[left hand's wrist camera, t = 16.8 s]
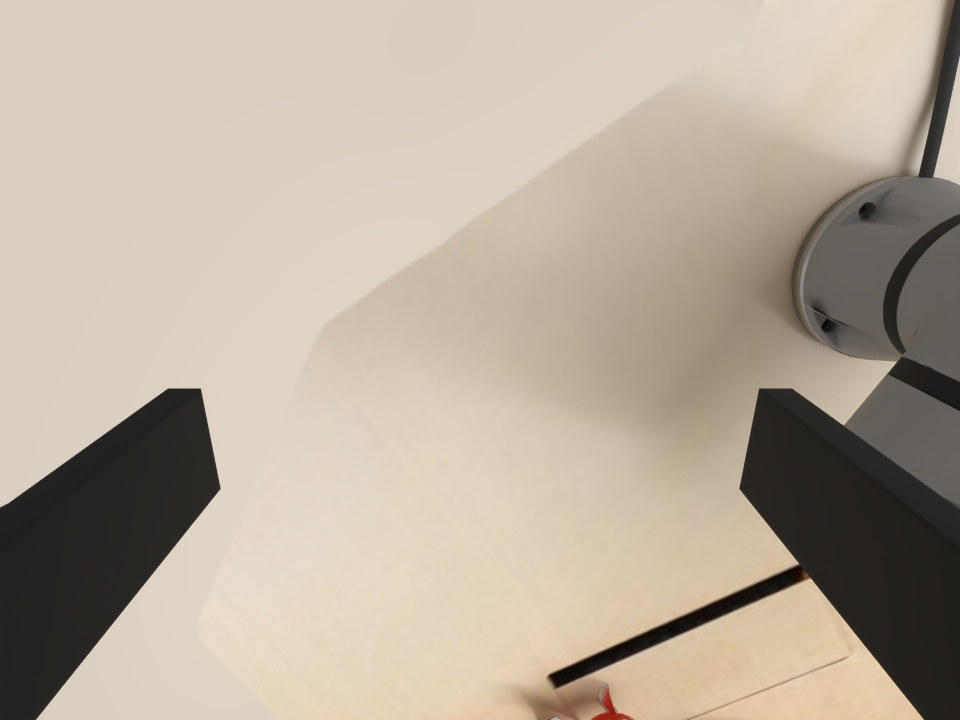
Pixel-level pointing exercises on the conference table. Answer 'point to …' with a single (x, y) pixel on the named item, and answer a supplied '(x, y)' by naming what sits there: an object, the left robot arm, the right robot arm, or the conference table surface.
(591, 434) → the conference table surface
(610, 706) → the fish
